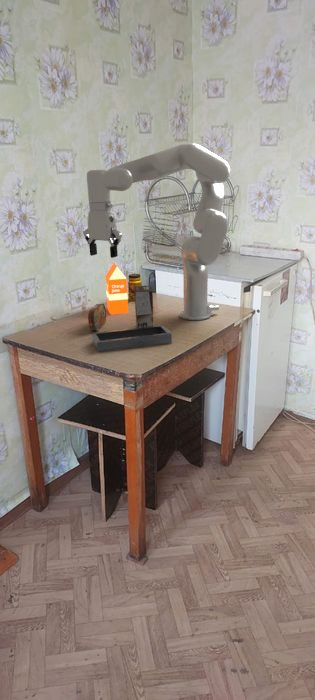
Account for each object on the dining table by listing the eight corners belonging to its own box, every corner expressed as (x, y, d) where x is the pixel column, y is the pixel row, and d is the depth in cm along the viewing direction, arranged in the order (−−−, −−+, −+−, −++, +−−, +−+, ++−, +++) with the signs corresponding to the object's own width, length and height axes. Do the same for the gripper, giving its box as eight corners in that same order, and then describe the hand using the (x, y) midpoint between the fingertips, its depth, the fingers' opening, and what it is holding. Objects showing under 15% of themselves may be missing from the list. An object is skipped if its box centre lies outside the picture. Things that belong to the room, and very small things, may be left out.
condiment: (133, 303, 230) (132, 277, 226) (123, 299, 237) (121, 273, 232) (146, 300, 234) (145, 274, 230) (136, 297, 241) (135, 271, 236)
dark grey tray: (162, 334, 190) (162, 324, 189) (171, 343, 181) (171, 333, 179) (92, 342, 183) (91, 333, 182) (97, 352, 174) (97, 342, 173)
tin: (95, 333, 193) (94, 311, 190) (87, 333, 193) (86, 311, 190) (107, 321, 206) (106, 301, 203) (100, 321, 207) (98, 300, 204)
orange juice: (110, 314, 215) (107, 266, 208) (107, 308, 223) (104, 262, 216) (128, 312, 217) (126, 265, 210) (125, 307, 225) (122, 261, 218)
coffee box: (154, 333, 191) (153, 291, 185) (136, 334, 190) (135, 291, 185) (152, 326, 199) (151, 285, 194) (135, 326, 199) (134, 285, 193)
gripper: (126, 206, 179) (129, 256, 185) (88, 205, 189) (92, 252, 195) (112, 209, 174) (115, 259, 180) (74, 207, 183) (79, 256, 189)
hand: (103, 256), depth 187 cm, fingers open, 9 cm apart
